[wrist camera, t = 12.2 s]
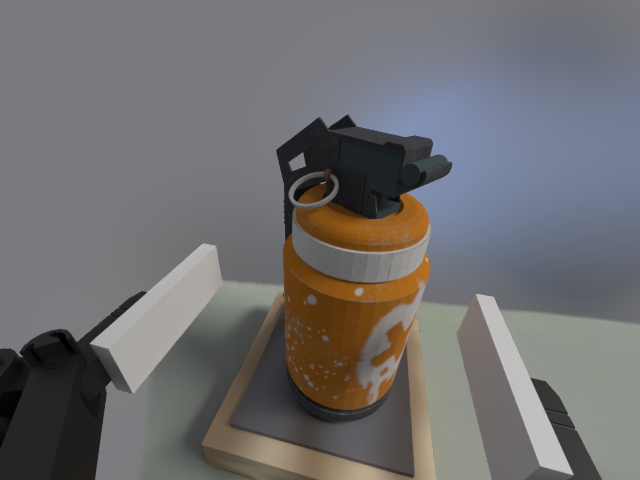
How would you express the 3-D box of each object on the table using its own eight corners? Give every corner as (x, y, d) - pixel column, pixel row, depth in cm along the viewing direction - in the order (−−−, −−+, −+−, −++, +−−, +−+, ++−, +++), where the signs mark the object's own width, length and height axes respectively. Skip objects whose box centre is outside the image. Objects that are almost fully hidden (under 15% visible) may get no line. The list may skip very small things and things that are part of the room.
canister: (340, 457, 18) (402, 162, 8) (252, 349, 25) (221, 110, 14) (410, 374, 24) (505, 131, 13) (323, 303, 30) (339, 104, 20)
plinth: (410, 339, 32) (418, 315, 30) (425, 532, 18) (442, 513, 16) (279, 312, 34) (278, 288, 32) (209, 465, 21) (199, 441, 19)
